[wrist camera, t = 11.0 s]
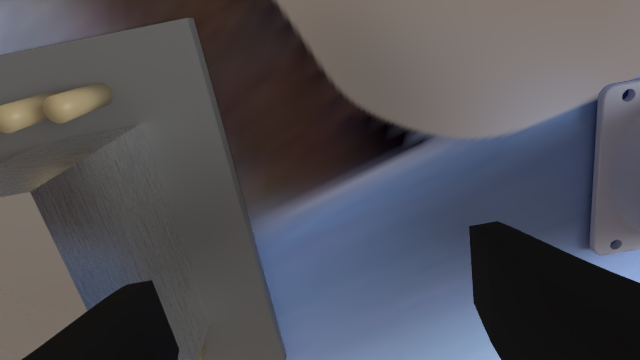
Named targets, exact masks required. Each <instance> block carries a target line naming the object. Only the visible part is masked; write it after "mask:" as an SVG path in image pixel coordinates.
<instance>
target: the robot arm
mask: <svg viewBox="0 0 640 360" xmlns="http://www.w3.org/2000/svg"><path fill="white" fill-rule="evenodd" d="M627 89H628V92H629V93H628V96H627V97H626V98H625V99H622V95H623V93H624V92H625V91H626V90H627ZM469 231H470V247H471V264H472V281H473V297H474V304H475V306H476V309H477V311H478V313H479V316H480V318H481V320H482V323H483V325H484V327H485V330H486V332H487V334H488V336H489V338H490V341H491V343H492V345H493V346H494V348H495V350H496V352H497V353H498V355H499V357H500V358H501V360H640V283H638V282H635V281H633V280H630V279H628V278H625V277H623V276H620V275H618V274H615V273H613V272H610V271H608V270H605V269H603V268H601V267H598V266H596V265H594V264H591V263H589V262H587V261H584V260H582V259H580V258H578V257H575V256H573V255H571V254H569V253H566V252H564V251H562V250H560V249H558V248H556V247H553V246H551V245H549V244H547V243H545V242H543V241H541V240H538V239H536V238H534V237H532V236H530V235H528V234H526V233H523V232H521V231H519V230H517V229H515V228H512V227H510V226H508V225H505V224H503V223H500V222H491V223H486V224H480V225H474V226H469ZM614 240H616V241H615V243H613V244H612V245H611V243H612V242H613V241H614ZM589 245H590V248H591V249H592V251H594V252H595V253H596V254H598V255H607V254H613V253H619V252H625V251H631V250H637V249H640V79H636V80H630V81H625V82H619V83H614V84H610V85H607V86H606V87H604V88H603V89H602V90H601V92H600V93H599V97H598V108H597V125H596V142H595V159H594V176H593V193H592V210H591V227H590V244H589ZM178 355H179V347H178V345H177V342H176V339H175V337H174V334H173V332H172V329H171V327H170V324H169V322H168V319H167V317H166V314H165V311H164V309H163V306H162V304H161V301H160V299H159V296H158V294H157V291H156V289H155V286H154V283H153V281H152V280H150V281H144V282H138V283H132V284H126V285H125V286H123V287H121V288H120V289H118V290H116V291H115V292H113V293H112V294H110V295H109V296H107V297H106V298H105V299H103V300H102V301H100V302H99V303H98V304H96V305H95V306H93V307H92V308H91V309H89V310H88V311H87V312H85V313H84V314H83V315H81V316H80V317H79V318H77V319H76V320H75V321H73V322H72V323H71V324H69V325H68V326H67V327H65V328H64V329H63V330H61V331H60V332H59V333H57V334H56V335H55V336H53V337H52V338H51V339H49V340H48V341H47V342H45V343H44V344H43V345H41V346H40V347H38V348H37V349H36V350H34V351H33V352H32V353H30V354H29V355H27V356H26V357H24V358H23V359H22V360H177V359H178Z"/></svg>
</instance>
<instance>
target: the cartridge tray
mask: <svg viewBox="0 0 640 360" xmlns="http://www.w3.org/2000/svg"><path fill="white" fill-rule="evenodd" d="M138 124H141V127H142V129H143V132H144V135H145V138H146V141H147V144H148V146H149V149H150V152H151V155H152V158H153V161H154V163H155V166H156V169H157V172H158V175H159V178H160V180H161V183H162V186H163V189H164V192H165V195H166V197H167V200H168V203H169V206H170V209H171V211H172V214H173V217H174V220H175V223H176V226H177V228H178V231H179V234H180V237H181V240H182V243H183V245H184V248H185V251H186V254H187V257H188V260H189V262H190V265H191V268H192V271H193V274H194V277H195V279H196V282H197V285H198V288H199V291H200V293H201V296H202V299H203V302H204V305H205V308H206V310H207V313H208V316H209V319H210V325H209V328H208V331H207V334H206V337H205V340H204V343H203V346H202V349H201V352H200V355H199V358H198V360H286V353H285V349H284V345H283V342H282V338H281V335H280V331H279V327H278V324H277V320H276V316H275V313H274V309H273V305H272V302H271V298H270V295H269V291H268V287H267V284H266V280H265V276H264V273H263V269H262V265H261V262H260V258H259V255H258V251H257V247H256V244H255V240H254V236H253V233H252V229H251V226H250V222H249V218H248V215H247V211H246V207H245V204H244V200H243V196H242V193H241V189H240V186H239V182H238V178H237V175H236V171H235V167H234V164H233V160H232V156H231V153H230V149H229V146H228V142H227V138H226V135H225V131H224V127H223V124H222V120H221V117H220V113H219V109H218V106H217V102H216V98H215V95H214V91H213V87H212V84H211V80H210V77H209V73H208V69H207V66H206V62H205V58H204V55H203V51H202V47H201V44H200V40H199V37H198V33H197V29H196V26H195V22H194V18H184V19H180V20H175V21H170V22H165V23H160V24H155V25H150V26H145V27H140V28H135V29H130V30H125V31H120V32H115V33H110V34H105V35H100V36H95V37H90V38H85V39H80V40H75V41H70V42H65V43H60V44H55V45H50V46H45V47H40V48H35V49H30V50H25V51H20V52H15V53H10V54H5V55H1V56H0V163H3V162H5V161H7V160H9V159H11V158H13V157H15V156H18V155H20V154H22V153H24V152H26V151H28V150H31V149H33V148H35V147H37V146H39V145H41V144H43V143H46V142H51V141H56V140H61V139H66V138H71V137H76V136H81V135H87V134H92V133H97V132H102V131H107V130H112V129H117V128H123V127H128V126H133V125H138Z"/></svg>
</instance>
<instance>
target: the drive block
mask: <svg viewBox="0 0 640 360" xmlns="http://www.w3.org/2000/svg"><path fill="white" fill-rule="evenodd" d="M150 280H152V281H153V283H154V286H155V289H156V291H157V294H158V296H159V299H160V301H161V304H162V306H163V309H164V311H165V314H166V317H167V319H168V322H169V324H170V327H171V329H172V332H173V334H174V337H175V339H176V342H177V345H178V347H179V355H178V359H177V360H198V358H199V355H200V352H201V349H202V346H203V343H204V340H205V337H206V334H207V331H208V328H209V325H210V319H209V316H208V313H207V310H206V308H205V305H204V302H203V299H202V296H201V293H200V291H199V288H198V285H197V282H196V279H195V277H194V274H193V271H192V268H191V265H190V262H189V260H188V257H187V254H186V251H185V248H184V245H183V243H182V240H181V237H180V234H179V231H178V228H177V226H176V223H175V220H174V217H173V214H172V211H171V209H170V206H169V203H168V200H167V197H166V195H165V192H164V189H163V186H162V183H161V180H160V178H159V175H158V172H157V169H156V166H155V163H154V161H153V158H152V155H151V152H150V149H149V146H148V144H147V141H146V138H145V135H144V132H143V129H142V127H141V124H138V125H133V126H128V127H123V128H117V129H112V130H107V131H102V132H97V133H92V134H87V135H81V136H76V137H71V138H66V139H61V140H56V141H51V142H46V143H43V144H41V145H39V146H37V147H35V148H33V149H31V150H28V151H26V152H24V153H22V154H20V155H18V156H15V157H13V158H11V159H9V160H7V161H5V162H3V163H0V360H22V359H23V358H24V357H26V356H27V355H29V354H30V353H32V352H33V351H34V350H36V349H37V348H38V347H40V346H41V345H43V344H44V343H45V342H47V341H48V340H49V339H51V338H52V337H53V336H55V335H56V334H57V333H59V332H60V331H61V330H63V329H64V328H65V327H67V326H68V325H69V324H71V323H72V322H73V321H75V320H76V319H77V318H79V317H80V316H81V315H83V314H84V313H85V312H87V311H88V310H89V309H91V308H92V307H93V306H95V305H96V304H98V303H99V302H100V301H102V300H103V299H105V298H106V297H107V296H109V295H110V294H112V293H113V292H115V291H116V290H118V289H120V288H121V287H123V286H125V285H126V284H132V283H138V282H144V281H150Z"/></svg>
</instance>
